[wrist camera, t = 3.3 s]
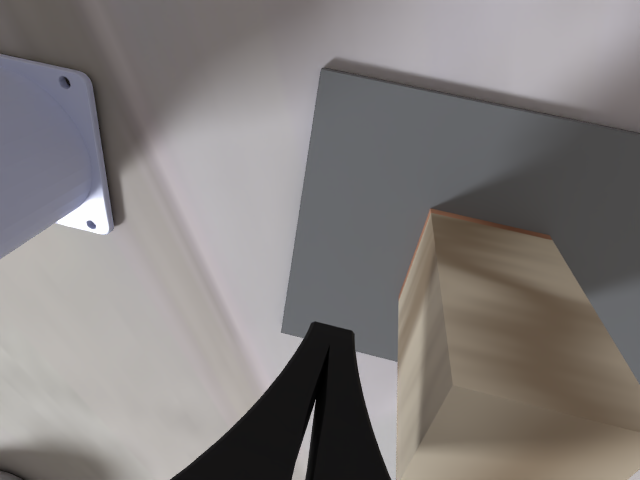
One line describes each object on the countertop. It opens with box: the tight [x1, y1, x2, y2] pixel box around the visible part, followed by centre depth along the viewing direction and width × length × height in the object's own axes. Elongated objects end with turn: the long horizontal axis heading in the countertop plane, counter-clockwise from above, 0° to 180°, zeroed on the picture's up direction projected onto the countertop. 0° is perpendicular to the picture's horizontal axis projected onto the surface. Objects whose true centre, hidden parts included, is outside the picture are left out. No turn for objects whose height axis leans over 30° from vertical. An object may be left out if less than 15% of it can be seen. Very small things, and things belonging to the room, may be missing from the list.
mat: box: [281, 68, 640, 384], centre depth 18 cm, size 20×14×1 cm
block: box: [396, 208, 640, 480], centre depth 14 cm, size 5×5×9 cm
